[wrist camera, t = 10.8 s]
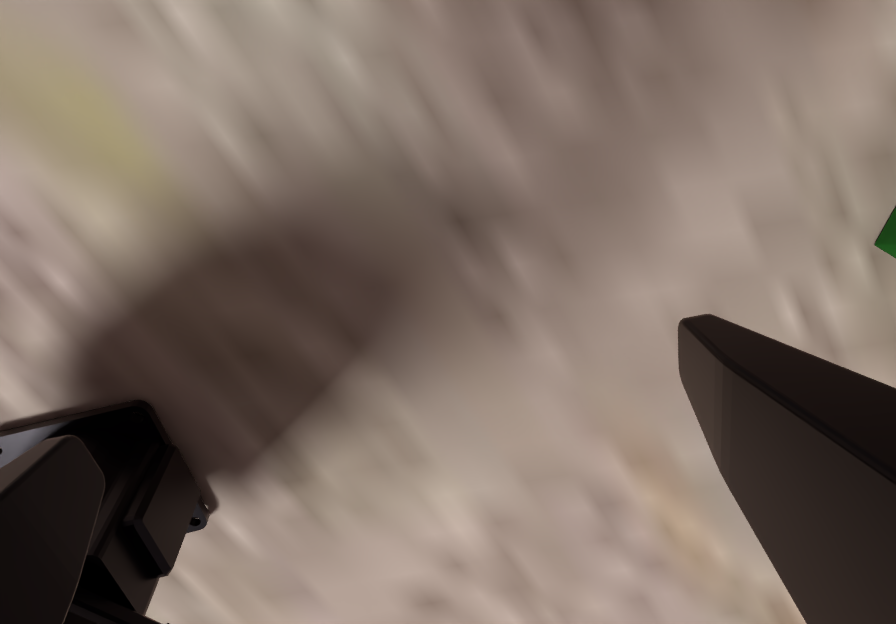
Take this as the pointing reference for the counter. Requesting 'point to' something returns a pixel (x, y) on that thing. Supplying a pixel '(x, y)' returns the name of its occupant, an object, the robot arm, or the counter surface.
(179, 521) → the robot arm
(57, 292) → the counter surface
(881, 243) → the milk carton
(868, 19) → the counter surface
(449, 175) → the counter surface
